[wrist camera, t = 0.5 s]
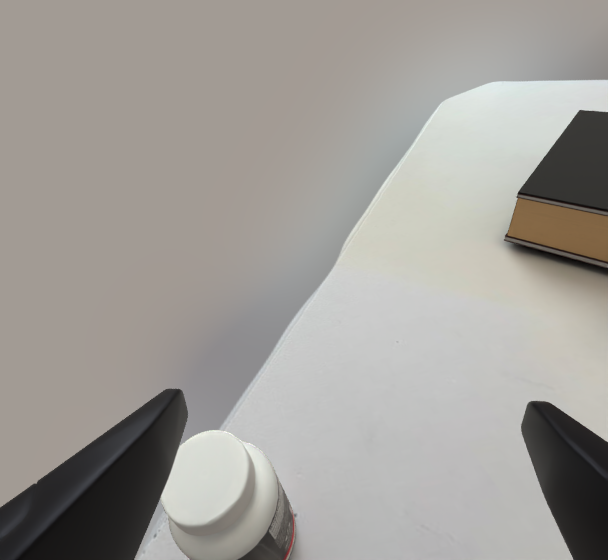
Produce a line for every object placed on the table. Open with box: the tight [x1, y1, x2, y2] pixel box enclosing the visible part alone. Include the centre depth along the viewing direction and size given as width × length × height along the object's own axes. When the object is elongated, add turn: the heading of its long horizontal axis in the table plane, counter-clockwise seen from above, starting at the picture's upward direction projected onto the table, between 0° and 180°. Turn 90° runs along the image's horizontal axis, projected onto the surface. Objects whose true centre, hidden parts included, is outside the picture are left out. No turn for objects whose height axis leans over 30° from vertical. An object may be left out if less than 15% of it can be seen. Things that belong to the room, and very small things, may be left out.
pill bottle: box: [160, 430, 296, 560], centre depth 19 cm, size 5×5×10 cm
